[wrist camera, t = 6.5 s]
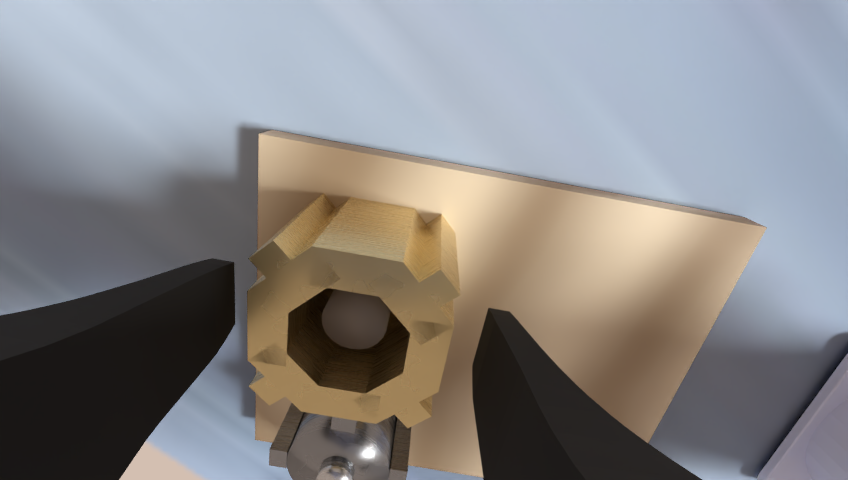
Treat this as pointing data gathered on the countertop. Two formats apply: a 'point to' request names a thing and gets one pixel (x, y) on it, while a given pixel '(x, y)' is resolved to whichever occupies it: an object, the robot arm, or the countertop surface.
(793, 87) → the countertop surface
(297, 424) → the gear
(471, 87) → the countertop surface
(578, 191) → the gear board
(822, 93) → the countertop surface
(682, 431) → the countertop surface
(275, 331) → the brass gear
